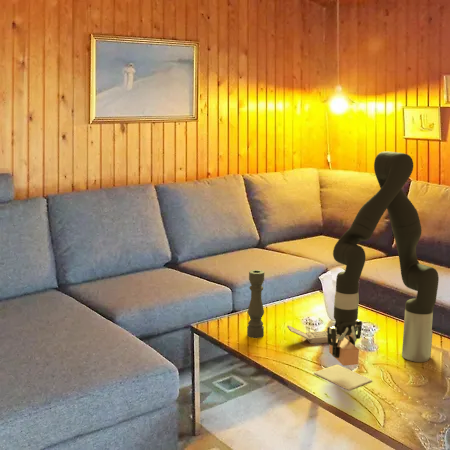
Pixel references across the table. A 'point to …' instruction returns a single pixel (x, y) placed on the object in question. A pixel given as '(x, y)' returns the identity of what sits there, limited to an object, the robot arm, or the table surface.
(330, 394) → the table surface
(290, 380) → the table surface
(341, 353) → the card box
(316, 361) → the table surface
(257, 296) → the candle holder
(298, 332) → the mobile phone
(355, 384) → the beige flat plate
